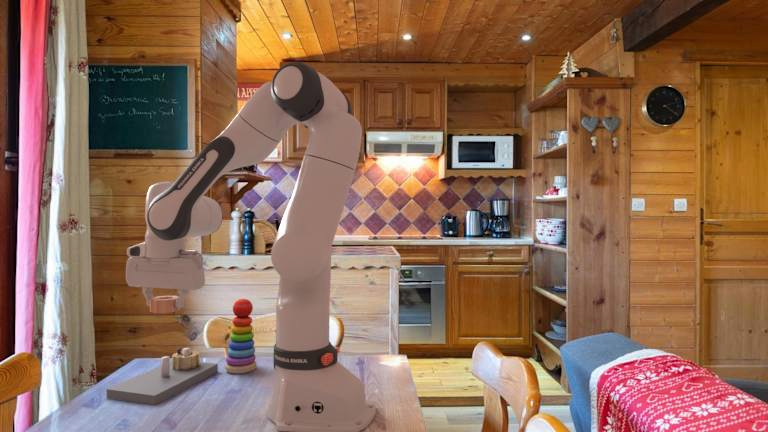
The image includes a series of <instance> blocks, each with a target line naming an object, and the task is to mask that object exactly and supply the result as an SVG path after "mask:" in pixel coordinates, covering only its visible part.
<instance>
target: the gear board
mask: <svg viewBox="0 0 768 432" xmlns="http://www.w3.org/2000/svg"><path fill="white" fill-rule="evenodd" d="M182 351H183V356H188V355H190V351H191V348H190V347H184V348H182ZM160 359H161V360H160V362H161V363H160V365H159V366H157V367H154V368H152V369H150V370H149V371H145V372H143V373H141V374H139V375H136V376H134V377H132V378H129V379H127V380H125V381H122V382H120V383H118V384H116V385H113V386H111V387H109V388H108V387H107V388H106V399H112V400H117V401H126V402H132V403H137V404H146V405H151V406H152V405H153V406H154V405H155V406H156V405H157V404H159V403H161V402H163V401H164V400H167V399H168V398H170V397H173V396H174V395H176V394H178V393H180V392H182V391H183V390H185V389H187V388H189V387H191V386H193V385H195V384H197V383H199V382H200V381H203V380H204V379H207V378H208V377H209V376H212V375H213V374H216V373H218V371H219V367H218V366H219V365H218V363H213V362H207V361H206V362H205V361H204V362H203V361H200V365H199V366H196V368H190V369H187V370H183V369H180V370H176V369H175V368H174V369H173V368H172V360H170V356H168V355H167V356H166V355H165V356H162V357H161V358H160Z"/></svg>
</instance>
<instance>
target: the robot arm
mask: <svg viewBox="0 0 768 432" xmlns="http://www.w3.org/2000/svg"><path fill="white" fill-rule="evenodd" d="M353 114H354V112H353V106H352V104H351V101H350V99H349V98H348V96H347V94H345V93H344V92H343V91H342V90H340V89H339V88H338V87H337V86H336V85H335V84H334V83H333V81H331V80H330V79H329V78H328V77H326V76H325V75H324V74H323V73H321V72H319V71H317V70H316V69H315V68H314V67H312V66H310V65H308V64H306V63H303V62H300V61H289V62H287V63H284V64H283V65H282V66H281V67H279V68H278V70H276V72H275V74H273V78H272V79H271V81H268V82H265V83H263V84H262V85H261V86H260V87H259V88H258V89H257V90H256V91H255V92H254V93H253V94H252V95H251V96H250V97H249V98H248V100H247V101H246V102H245V103H244V105H242V107H241V108H240V110H239V111H238V113H237V114H236V116H235V117H234V118H233V119H232V121H231V122H230V123H229V124H228V126H227V127H226V128H225V129H224V130H223V131H222V132H221V133H220V134H218V135H217V136H216V137H215V138H214V139H212V140H211V141H210V142H209V143H207V145H206V146H205V147H204V148H202V150H200V152H199V153H198V154H197V156H196V157H194V159H193V160H192V161H191V162H190V163H189V165H187V167H186V168H185V170H183V172H181V174H180V175H179V177H177V179H176V180H175V181H161V182H158V183H157V182H156V183H154V184H152V185H150V186H149V188H148V190H147V193H146V197H145V210H144V211H145V212H144V218H145V223H146V231H145V234H144V241H143V242H141V243H138V244H135V245H133V246H129V247H128V248H126V255H127V257H129V258H128V259H127V260H126V265H125V281H126V284H127V285H128V287H135V288H141V292H142V294H143V296H144V298H145V299H146V300H145V303H146V304H145V305H146V306H147V307H150V298H154V294H153V291H154V289H170V290H177V294H179V295H178V296H179V297H178V299H177V300H175V301H174V304H175V305H174V307H175V308H180V309H182V308H184V307H185V299H186V298H187V296H188V295H189V292H190V291H196V290H202V289H203V288H204V286H205V285H206V284H205V283H206V278H205V268H204V257H203V255H202V254H201V253H200V252H198V250H189V249H186V238H197V237H205V236H209V235H212V234H214V233H216V232H217V231H218V230H219V229H220V227H221V225H222V223H223V218H224V217H223V216H224V215H223V210H222V206H221V205H220V203H219V201H217V200H215V199H214V198H211V197H208V196H205V194H206V193H207V192H208V191H209V190H210V189H211V188H212V187H213V185H214V184H215V183H216V182H217V180H218V179H219V178H221V177H222V176H223V175H225V174H227V173H229V172H231V171H233V170H236V169H240V168H245V167H249V166H254V165H257V164H261V163H263V161H265V160H267V158H268V157H269V156H271V154H272V153H274V151H275V150H276V148H277V147H278V145H279V144H280V142H281V141H282V140H283V139H284V137H285V135H286V133H287V132H288V131H289V130H290V129H291V128H292V127H294V126H295V125H300V124H301V125H303V126H304V127H305V128H306V129H308V132H309V139H308V143H307V146H306V149H305V152H304V155H303V158H302V160H301V165H300V167H299V168H300V169H299V172H298V174H297V178H296V181H295V184H294V188H293V191H292V195H291V197H290V199H289V201H288V204H287V206H286V209H285V211H284V214H283V217H282V219H281V222H280V225H279V227H278V230H277V233H276V236H275V238H274V241H273V244H272V247H271V251H270V258H271V264H272V266H273V268H274V271H276V273H277V274H278V275H279V282H278V292H277V300H276V304H275V305H276V306H275V344H274V345H273V361H272V362H273V369H274V376H273V377H274V378H273V385H272V393H271V398H270V403H269V407H268V409H267V412H266V415H267V417H268V419H269V420H270V421H272V422H273V423H274V424H275V428H276V430H277V431H279V432H360V431H362V430H364V429H365V428H367V427H368V426H369V425H370V424H371V423H372V422H373V420H374V418H375V417H376V415H377V406H376V404H375V402H374V401H372V400H368V399H366V393H365V387H364V384H363V381H362V380H361V379H360V378H359V377H357V375H355V374H354V373H352V372H351V371H350V370H349V369H348V368H347V367H345V366H344V365H343V364H342V363H340V362H339V361H338V359H339V356H338V354H339V353H340V352H341V350H340V349H341V346H340V345H338V347H335V346H334V345H333V344H332V342H330V304H331V301H330V300H331V277H332V276H331V275H332V274H331V272H332V247H333V246H332V245H333V243H334V240H335V236H336V234H337V230H338V227H339V225H340V221H341V218H342V214H343V212H344V209H345V205H346V202H347V199H348V195H349V192H350V189H351V185H352V182H353V178H354V176H355V172H356V169H357V165H358V161H359V157H360V151H361V145H362V138H363V128H362V127H363V126H362V124H361V123H360V121H359V120H358V119H357V118H356V117H355V116H354V115H353Z"/></svg>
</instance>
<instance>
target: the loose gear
mask: <svg viewBox="0 0 768 432" xmlns="http://www.w3.org/2000/svg"><path fill="white" fill-rule="evenodd" d="M178 297H179V295H178V296H177V295H163V296H162V295H160V296H159V295H157V296H155V297H154V298H150V306H149V312H150V313H153V314H167V313H175V312H176V311H177V312H179V311H180V310H181V308H175V307H174V305H175V304H174V301H175V300H177V299H178Z"/></svg>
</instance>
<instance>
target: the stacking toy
mask: <svg viewBox="0 0 768 432" xmlns="http://www.w3.org/2000/svg"><path fill="white" fill-rule="evenodd" d="M253 309H254V308H253V303H252V302H251V300H249V299H248V298H240V299H238V300H236V301H235V302H234V303H233V305H232V312H233V314H234V317H233V318H232V320H231V321H232V324H233V325H232V326H231V327H230V331H231V332H232V333H230V335H229V336H230V337H229V338H230V340H229V342H228V347H229V348H228V350H227V355H226V358H225V362H226V363H225V366H224V369H225V371H226V372H228V373H230V374H236V375H237V374H245V373H246V374H247V373H250V372H253V371H254V370H256V368H257V367H258V366H257V364H258V363H257V361H256V354H255V353H256V347H255V340H254V332H253V325H252V323H253V317H251V316H250V315H251V314H252V312H253Z"/></svg>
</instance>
